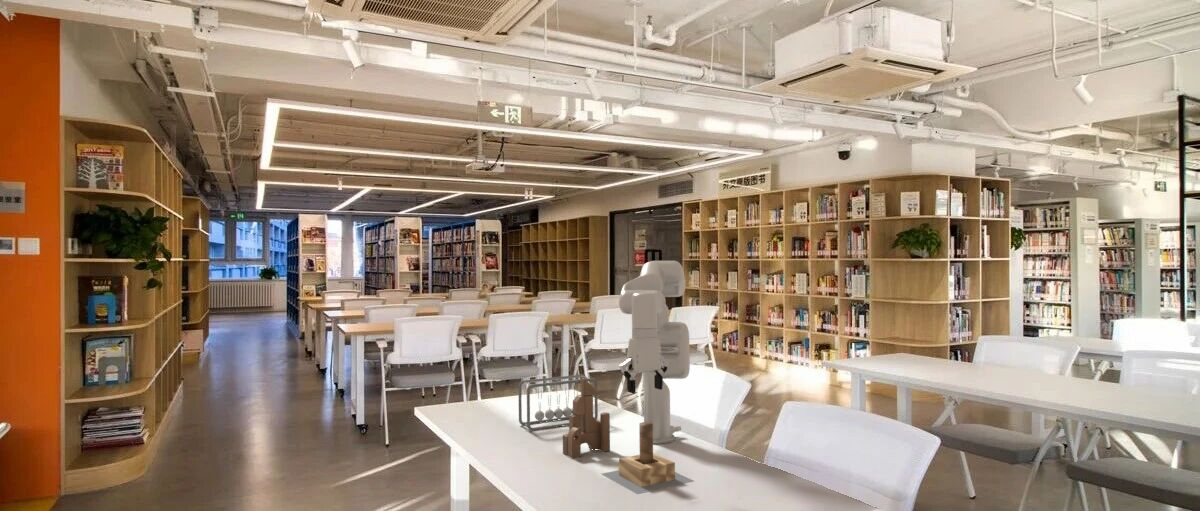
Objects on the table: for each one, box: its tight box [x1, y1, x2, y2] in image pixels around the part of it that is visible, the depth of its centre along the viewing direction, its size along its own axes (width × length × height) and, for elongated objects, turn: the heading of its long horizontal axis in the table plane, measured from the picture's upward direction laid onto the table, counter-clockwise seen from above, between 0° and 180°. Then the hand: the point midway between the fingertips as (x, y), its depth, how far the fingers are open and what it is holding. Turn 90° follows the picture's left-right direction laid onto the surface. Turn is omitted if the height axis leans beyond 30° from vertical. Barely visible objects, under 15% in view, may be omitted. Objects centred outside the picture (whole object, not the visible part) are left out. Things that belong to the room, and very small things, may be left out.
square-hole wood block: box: [618, 452, 676, 487], centre depth 199 cm, size 12×12×5 cm
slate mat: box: [601, 469, 694, 495], centre depth 199 cm, size 20×20×1 cm
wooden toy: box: [562, 377, 611, 458], centre depth 226 cm, size 16×7×25 cm, turn 120°
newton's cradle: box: [517, 374, 599, 431], centre depth 265 cm, size 30×10×18 cm, turn 117°
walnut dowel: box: [638, 421, 654, 465], centre depth 199 cm, size 4×4×16 cm
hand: (645, 390), depth 199 cm, fingers open, 9 cm apart
